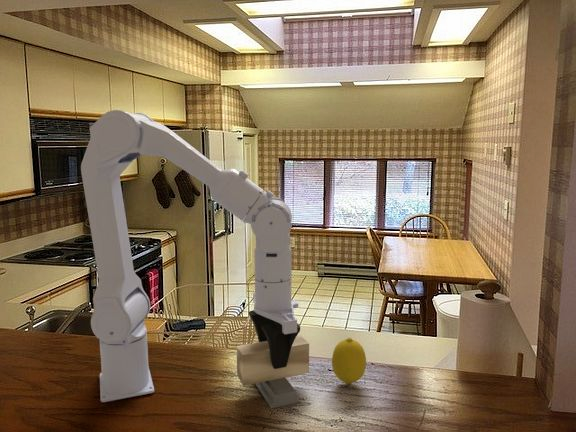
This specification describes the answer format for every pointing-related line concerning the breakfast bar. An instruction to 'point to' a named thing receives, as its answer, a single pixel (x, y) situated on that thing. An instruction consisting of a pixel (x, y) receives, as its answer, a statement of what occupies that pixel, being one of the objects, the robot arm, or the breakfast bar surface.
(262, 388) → the stepped block
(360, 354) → the lemon
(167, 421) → the breakfast bar surface
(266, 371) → the bar
